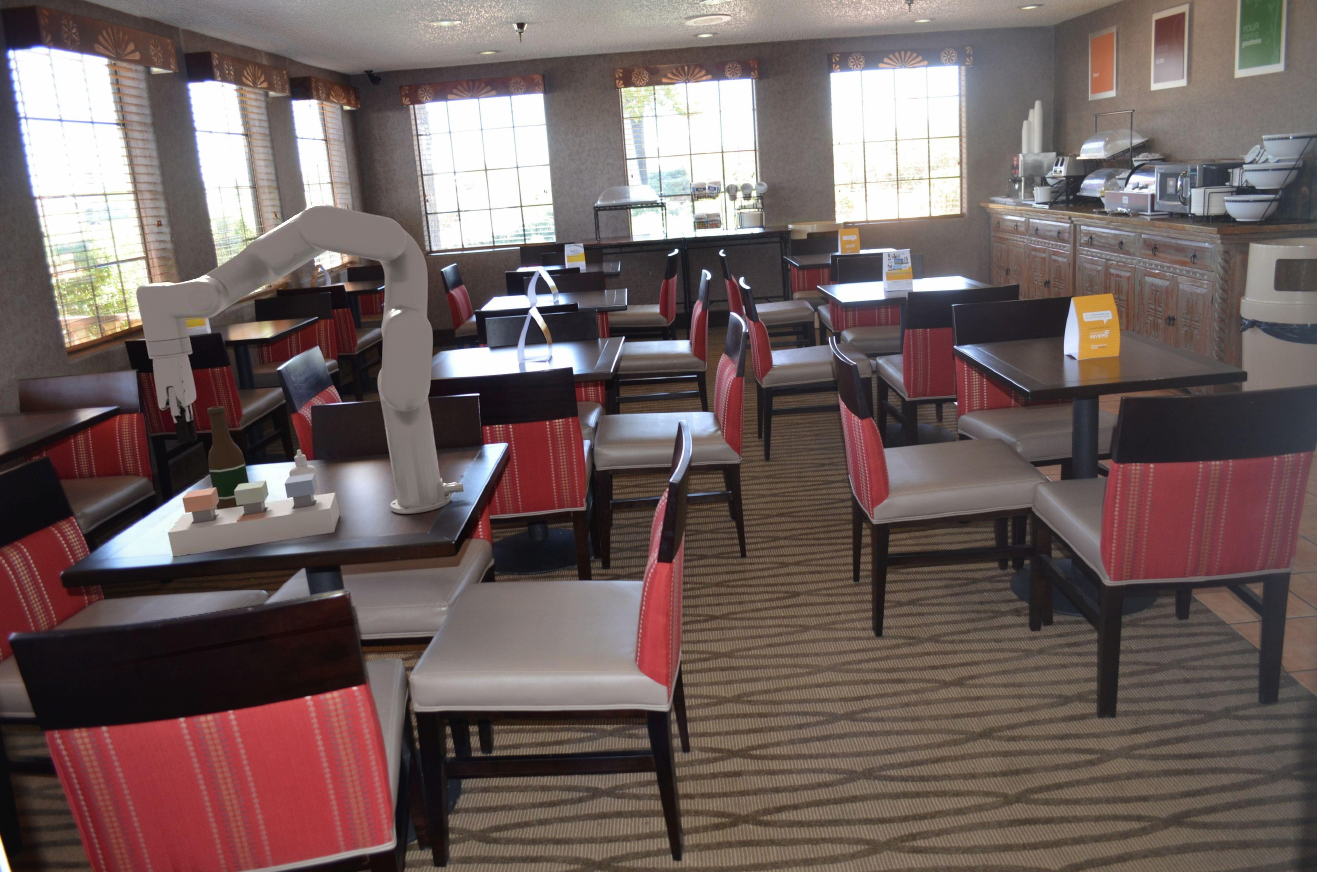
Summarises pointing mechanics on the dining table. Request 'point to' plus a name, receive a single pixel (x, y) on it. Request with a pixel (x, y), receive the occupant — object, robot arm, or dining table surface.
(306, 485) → the slate button
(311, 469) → the eye dropper bottle
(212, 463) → the beer bottle
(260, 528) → the console
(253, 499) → the sage button
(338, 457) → the dining table surface
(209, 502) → the terracotta button
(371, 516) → the dining table surface
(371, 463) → the dining table surface
